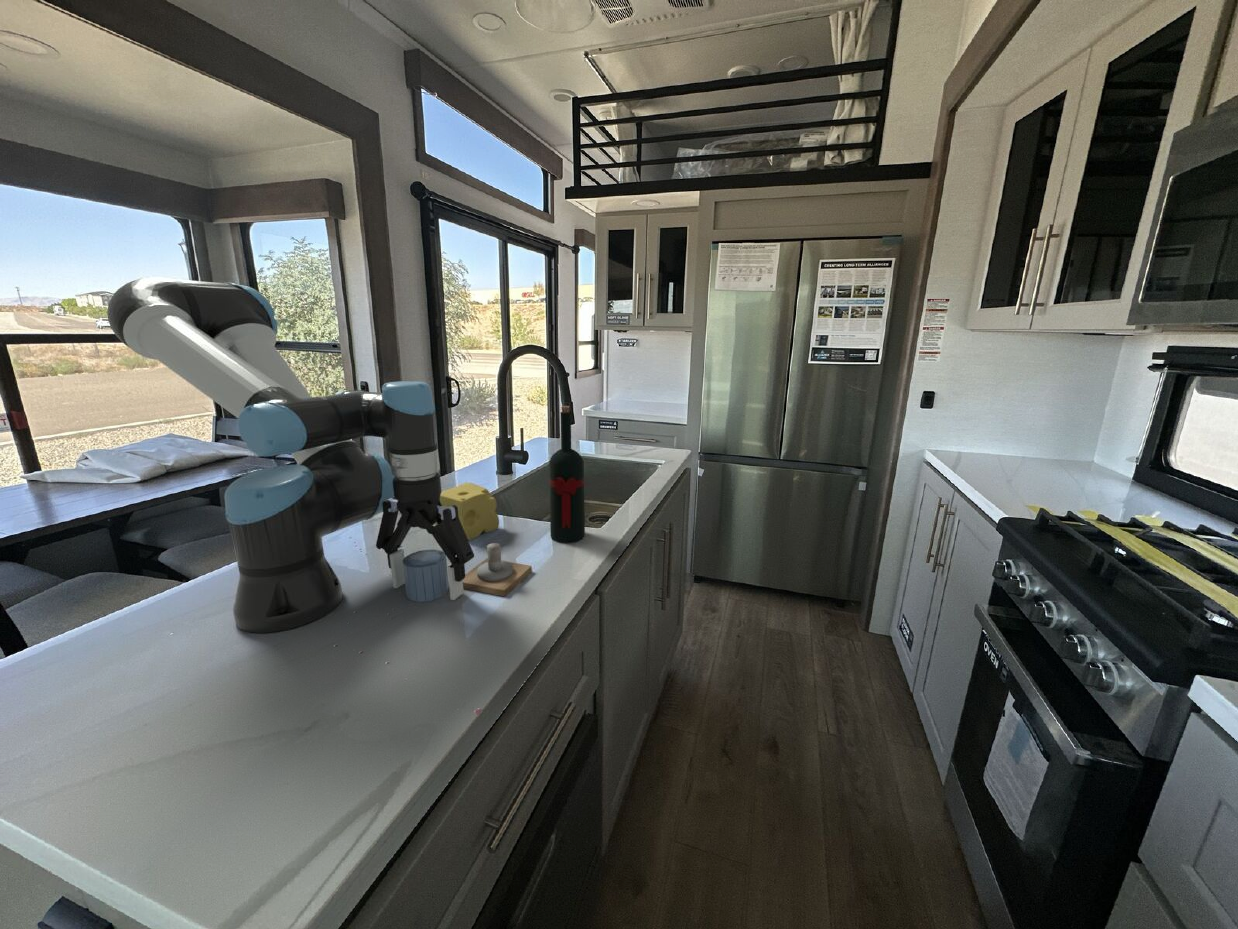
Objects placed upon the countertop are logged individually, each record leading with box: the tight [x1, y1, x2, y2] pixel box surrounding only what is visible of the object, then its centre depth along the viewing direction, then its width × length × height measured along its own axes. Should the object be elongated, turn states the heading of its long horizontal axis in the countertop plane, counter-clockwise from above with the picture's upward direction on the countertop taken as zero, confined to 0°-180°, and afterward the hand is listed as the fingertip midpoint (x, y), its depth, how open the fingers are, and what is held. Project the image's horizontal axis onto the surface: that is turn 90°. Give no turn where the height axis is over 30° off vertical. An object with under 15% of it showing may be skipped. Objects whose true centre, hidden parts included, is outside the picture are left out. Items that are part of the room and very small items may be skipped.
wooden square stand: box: [463, 542, 533, 597], centre depth 92 cm, size 10×10×7 cm
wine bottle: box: [548, 405, 586, 544], centre depth 107 cm, size 8×10×30 cm
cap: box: [403, 549, 450, 603], centre depth 87 cm, size 7×7×6 cm
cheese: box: [434, 481, 500, 542], centre depth 114 cm, size 10×11×10 cm
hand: (428, 590), depth 88 cm, fingers open, 12 cm apart
